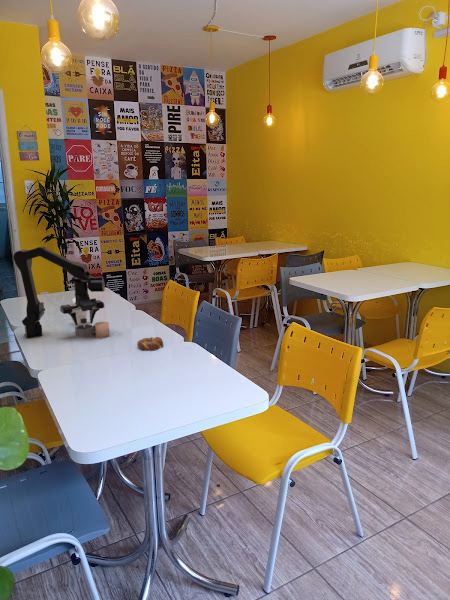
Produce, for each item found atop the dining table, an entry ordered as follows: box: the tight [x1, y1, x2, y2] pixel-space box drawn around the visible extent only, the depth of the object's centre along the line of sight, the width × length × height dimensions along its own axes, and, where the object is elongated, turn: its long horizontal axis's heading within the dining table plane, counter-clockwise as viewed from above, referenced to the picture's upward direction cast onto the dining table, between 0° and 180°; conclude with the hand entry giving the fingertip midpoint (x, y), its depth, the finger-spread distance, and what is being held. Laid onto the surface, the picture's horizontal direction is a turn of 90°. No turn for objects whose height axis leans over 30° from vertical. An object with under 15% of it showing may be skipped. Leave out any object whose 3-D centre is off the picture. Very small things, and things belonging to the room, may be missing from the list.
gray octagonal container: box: [74, 324, 96, 338], centre depth 208 cm, size 10×8×4 cm
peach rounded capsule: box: [94, 321, 110, 339], centre depth 205 cm, size 6×6×6 cm
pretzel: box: [136, 336, 164, 351], centre depth 192 cm, size 12×11×4 cm
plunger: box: [80, 317, 88, 329], centre depth 207 cm, size 6×6×7 cm
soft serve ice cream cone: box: [70, 297, 88, 326], centre depth 223 cm, size 8×8×16 cm
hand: (84, 324), depth 207 cm, fingers open, 7 cm apart
